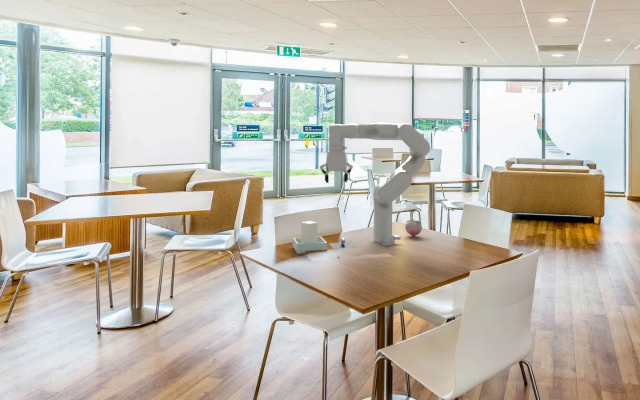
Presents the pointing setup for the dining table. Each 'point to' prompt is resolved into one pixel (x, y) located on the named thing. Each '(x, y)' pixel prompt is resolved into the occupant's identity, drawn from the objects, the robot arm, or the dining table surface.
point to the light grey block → (309, 232)
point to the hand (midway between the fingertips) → (336, 182)
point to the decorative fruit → (413, 227)
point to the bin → (308, 245)
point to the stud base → (347, 245)
